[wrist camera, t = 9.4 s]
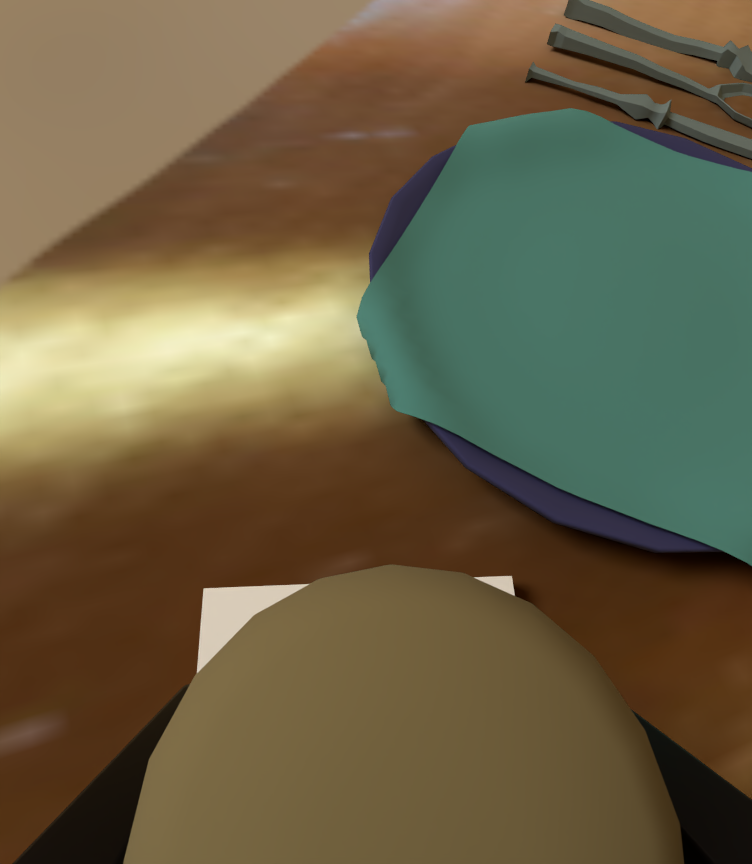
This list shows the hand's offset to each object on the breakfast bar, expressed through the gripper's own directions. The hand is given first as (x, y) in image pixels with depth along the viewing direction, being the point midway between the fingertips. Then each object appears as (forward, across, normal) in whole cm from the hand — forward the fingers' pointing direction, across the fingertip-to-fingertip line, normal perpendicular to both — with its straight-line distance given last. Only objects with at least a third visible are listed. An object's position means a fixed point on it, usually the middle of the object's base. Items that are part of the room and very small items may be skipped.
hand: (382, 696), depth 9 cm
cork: (+4, 0, +6) cm, 7 cm away
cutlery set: (+19, -13, -6) cm, 24 cm away
